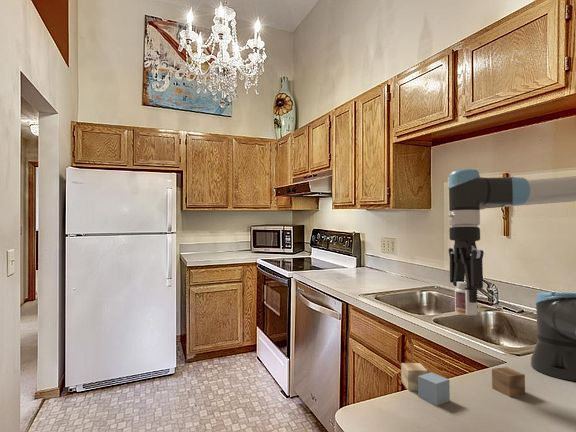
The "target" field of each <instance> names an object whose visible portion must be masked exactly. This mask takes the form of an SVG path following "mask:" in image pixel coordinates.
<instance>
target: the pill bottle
mask: <svg viewBox="0 0 576 432" xmlns="http://www.w3.org/2000/svg"><path fill="white" fill-rule="evenodd" d="M457 287H458V288H457V289H456V290H455V289H454V310H455V313H456V314H458V315H463V316H467V315H466V305H465V288H467V283H466V281H464V282H457Z"/></svg>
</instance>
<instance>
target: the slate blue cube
mask: <svg viewBox="0 0 576 432" xmlns="http://www.w3.org/2000/svg"><path fill="white" fill-rule="evenodd" d="M450 389H451V387H450V379H449V378H446V377H444V376H442V375H440V374H436V373H435V372H433V371H432V372H428V373H427V374H424V375H420V376H418V390H417V393H418V394H417V395H418V398H420V399H422V400H424V401H425V402H428V403H430V404H431V405H433V406H436V407H437V406H439V405H442V404H444V403H447V402H449V401H450V399H451V398H450V395H451V393H450Z"/></svg>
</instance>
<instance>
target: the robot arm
mask: <svg viewBox="0 0 576 432" xmlns="http://www.w3.org/2000/svg"><path fill="white" fill-rule="evenodd" d="M572 202H576V176H562V177H560V176H559V177H551V178H542V179H541V178H540V179H531V180H529V179H526V178H524V177H519V176H517V177H516V176H509V177H508V176H506V177H505V176H504V177H481V175H480V172H479V170H477V169H471V168H467V169H466V168H463V169H458V170H454V171H452V172H450V174H449V175H448V205H449V208H448V209H449V211H448V212H449V213H448V218H449V226H451V227H449V229H448V232H449V233H448V234H449V240H450V241H454V242H453V243H454V244H453V247H452V248H451V247H450V248H448V255H449V282H450V283H451V284H452V285H453V286H454V291H455V290H456V289H457V288H458V287H457V282H466V283H467V288H465V305H466V315H465V316H478V291H479V290H480V289H481V290H482V289H483V288H484V280H483V279H484V275H483V273H484V272H483V270H484V269H483V258H484V253H485V252H484V250H482V249H478V248H477V247H478V246H477V244H476V242H479V241H480V240H481V228H480V227H479V225H481V214H480V212H481V210H485V209H493V208H494V209H495V208H504V207H507V208H508V207H518V206H530V205H533V206H534V205H543V204H544V205H547V204H557V203H572ZM535 299H536V301H535V306H536V309H535V310H536V334H537V335H536V336H537V341H536V344H535V346H534V350H533V353H532V355H531V357H530V366H531V368H533V369H534V370H536V371H537V372H540V373H542V374H544V375H547V376H550V377H553V378H557V379H561V380H562V379H563V380H565V381H573V382H576V292H556V291H553V292H552V291H540V292H537V294H536V298H535Z"/></svg>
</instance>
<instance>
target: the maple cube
mask: <svg viewBox="0 0 576 432" xmlns="http://www.w3.org/2000/svg"><path fill="white" fill-rule="evenodd" d="M400 369H401V371H400V373H401V375H400V377H401V383H402V384H403V386H404V387H405V388H406V390H407V391H418V376H420V375H424V374H427V373H429V372H428V369H427V368H425V367H424V366H423V365H422V364H421V363H420V362H417V363H416V362H411V363H410V362H401V363H400Z"/></svg>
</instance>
